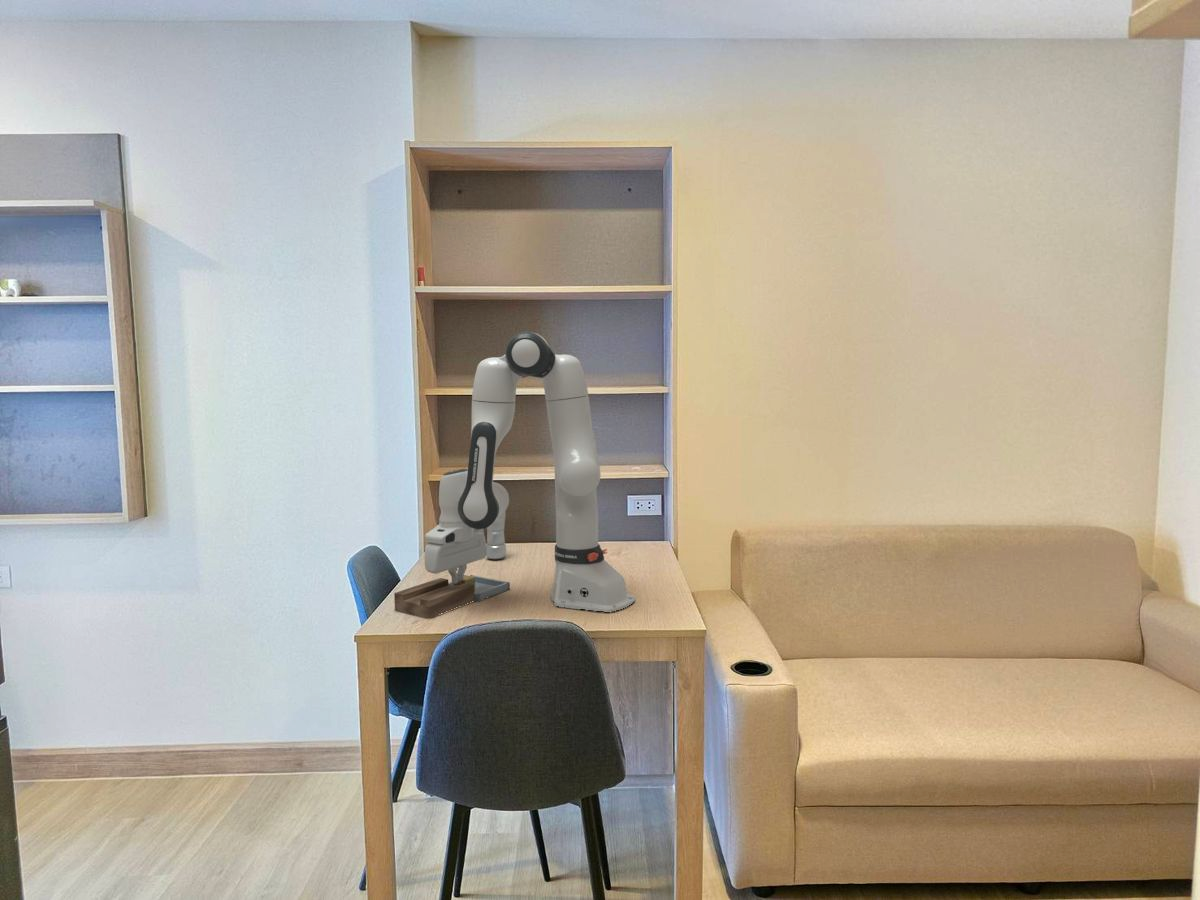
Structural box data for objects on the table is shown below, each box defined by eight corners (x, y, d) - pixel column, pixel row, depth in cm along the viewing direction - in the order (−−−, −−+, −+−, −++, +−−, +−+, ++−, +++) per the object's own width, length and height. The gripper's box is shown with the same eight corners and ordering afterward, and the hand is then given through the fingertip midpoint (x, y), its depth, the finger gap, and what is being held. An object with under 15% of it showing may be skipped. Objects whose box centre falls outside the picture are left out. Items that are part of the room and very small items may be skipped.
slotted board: (474, 601, 193) (473, 584, 192) (429, 618, 179) (428, 600, 179) (440, 594, 199) (440, 577, 199) (394, 610, 186) (394, 593, 185)
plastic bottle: (481, 559, 236) (480, 497, 234) (495, 555, 241) (494, 494, 239) (496, 562, 232) (495, 499, 230) (510, 558, 238) (509, 496, 236)
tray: (509, 589, 204) (509, 582, 203) (477, 601, 193) (477, 594, 192) (471, 581, 211) (471, 574, 211) (438, 593, 200) (438, 586, 200)
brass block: (464, 595, 197) (475, 591, 200) (464, 580, 197) (475, 577, 200) (453, 592, 199) (464, 589, 202) (453, 578, 199) (464, 574, 202)
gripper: (474, 522, 205) (475, 571, 206) (419, 536, 188) (421, 589, 189) (491, 525, 202) (492, 574, 203) (438, 539, 184) (439, 593, 186)
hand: (457, 582), depth 196 cm, fingers closed
